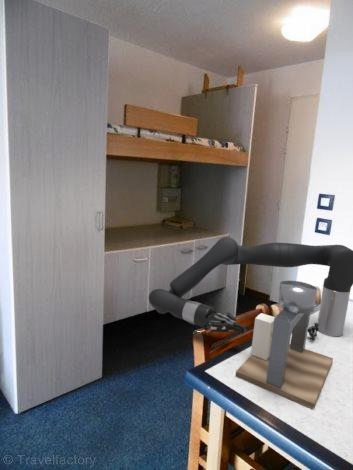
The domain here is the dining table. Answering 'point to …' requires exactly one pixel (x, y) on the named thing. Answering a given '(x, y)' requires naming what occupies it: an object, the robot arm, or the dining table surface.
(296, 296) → the grey two-legged stand
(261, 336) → the plug
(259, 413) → the dining table surface
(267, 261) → the robot arm
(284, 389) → the track board
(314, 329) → the valve
